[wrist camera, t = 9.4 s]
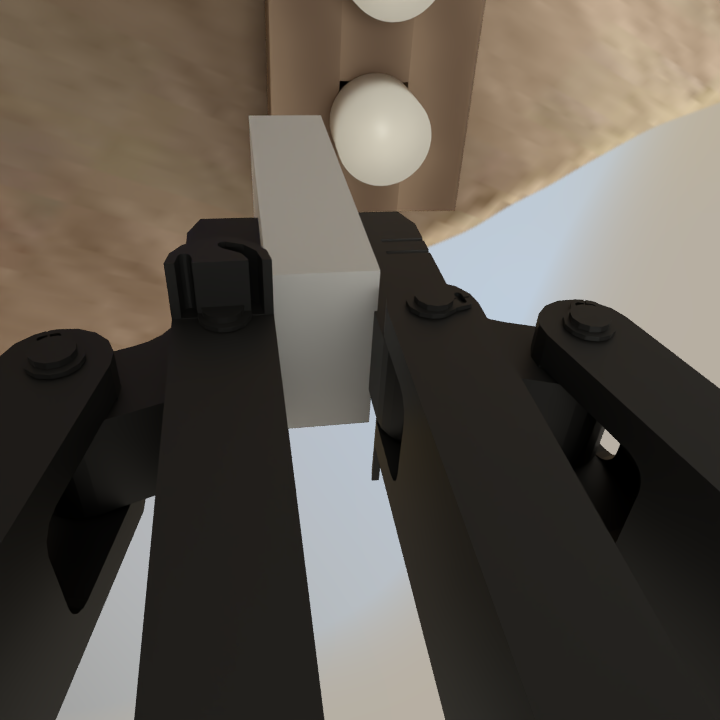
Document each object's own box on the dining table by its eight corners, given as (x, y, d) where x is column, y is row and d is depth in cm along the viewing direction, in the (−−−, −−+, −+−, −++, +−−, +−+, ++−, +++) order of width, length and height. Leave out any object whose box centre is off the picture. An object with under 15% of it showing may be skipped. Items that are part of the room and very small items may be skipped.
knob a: (317, 130, 38) (335, 186, 31) (319, 47, 35) (338, 88, 29) (392, 131, 39) (425, 185, 32) (399, 49, 36) (436, 90, 29)
